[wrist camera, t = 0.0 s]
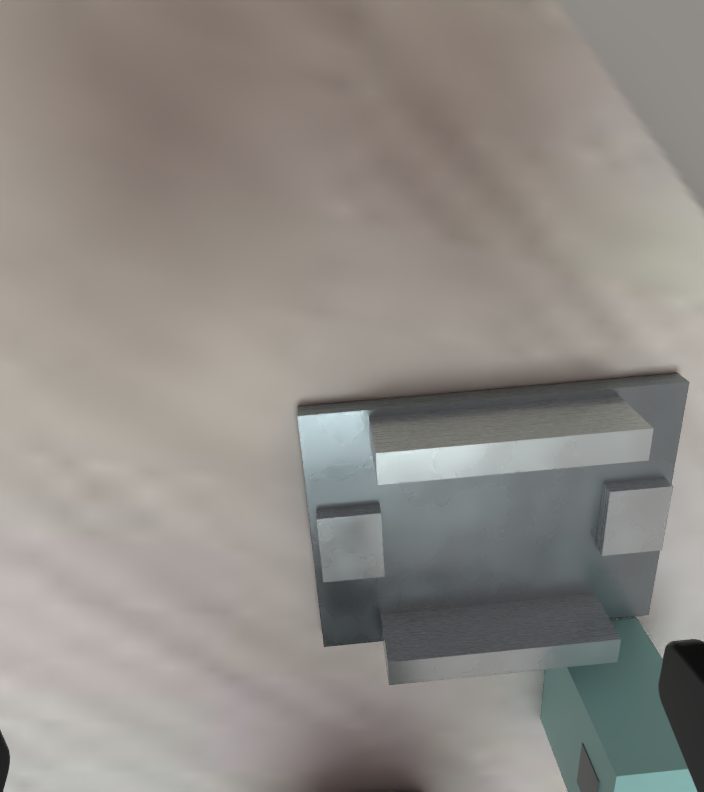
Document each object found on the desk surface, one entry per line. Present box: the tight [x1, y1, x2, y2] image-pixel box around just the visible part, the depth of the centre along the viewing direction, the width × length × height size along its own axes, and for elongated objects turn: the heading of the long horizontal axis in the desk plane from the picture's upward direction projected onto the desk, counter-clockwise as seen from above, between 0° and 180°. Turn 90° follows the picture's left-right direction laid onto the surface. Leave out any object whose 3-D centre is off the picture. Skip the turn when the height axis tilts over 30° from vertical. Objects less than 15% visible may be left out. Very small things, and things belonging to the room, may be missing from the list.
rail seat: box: [297, 373, 689, 685], centre depth 24 cm, size 11×14×3 cm
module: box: [540, 618, 697, 792], centre depth 27 cm, size 6×4×7 cm
